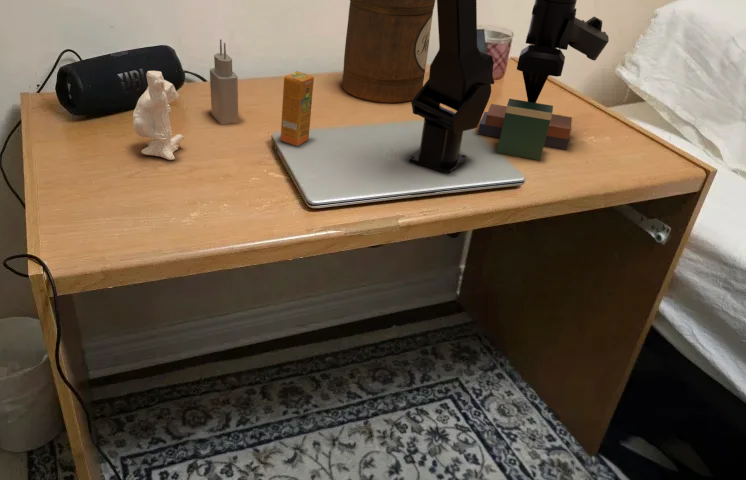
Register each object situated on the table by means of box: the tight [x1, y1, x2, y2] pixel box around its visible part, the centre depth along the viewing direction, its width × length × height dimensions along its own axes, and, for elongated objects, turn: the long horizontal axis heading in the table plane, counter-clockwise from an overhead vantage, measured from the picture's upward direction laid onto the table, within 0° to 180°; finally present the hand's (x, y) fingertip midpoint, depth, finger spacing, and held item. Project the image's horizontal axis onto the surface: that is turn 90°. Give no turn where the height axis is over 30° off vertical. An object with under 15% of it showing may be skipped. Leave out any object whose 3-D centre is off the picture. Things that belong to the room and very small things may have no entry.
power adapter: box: [209, 38, 239, 125], centre depth 103 cm, size 3×5×12 cm, turn 26°
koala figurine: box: [132, 70, 184, 161], centre depth 90 cm, size 8×7×12 cm
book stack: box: [477, 103, 573, 151], centre depth 107 cm, size 6×14×4 cm, turn 72°
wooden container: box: [341, 0, 436, 104], centre depth 116 cm, size 15×15×22 cm
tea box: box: [496, 98, 554, 161], centre depth 100 cm, size 7×6×8 cm
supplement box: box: [280, 70, 315, 147], centre depth 97 cm, size 3×3×10 cm
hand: (531, 103), depth 105 cm, fingers closed
